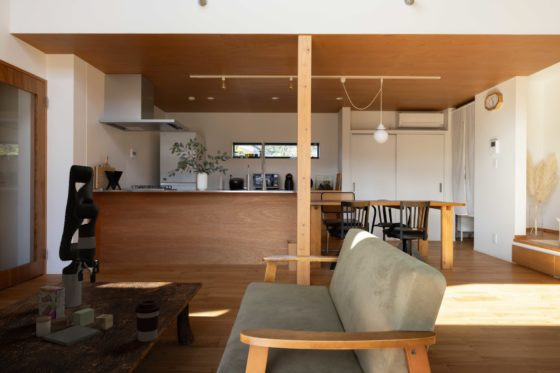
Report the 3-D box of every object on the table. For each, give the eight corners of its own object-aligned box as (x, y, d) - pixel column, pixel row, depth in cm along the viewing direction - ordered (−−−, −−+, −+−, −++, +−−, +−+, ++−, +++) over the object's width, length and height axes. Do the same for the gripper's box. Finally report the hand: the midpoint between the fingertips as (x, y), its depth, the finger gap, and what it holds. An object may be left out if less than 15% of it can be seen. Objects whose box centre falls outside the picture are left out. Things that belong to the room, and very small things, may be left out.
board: (43, 339, 150) (43, 336, 150) (77, 327, 164) (77, 324, 164) (67, 346, 144) (67, 342, 144) (100, 333, 157) (100, 330, 157)
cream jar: (32, 335, 154) (33, 318, 154) (45, 331, 159) (45, 315, 159) (40, 337, 152) (41, 320, 152) (53, 333, 157) (54, 316, 157)
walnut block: (48, 329, 162) (48, 320, 162) (64, 326, 166) (64, 317, 166) (51, 331, 159) (51, 322, 159) (66, 328, 163) (66, 319, 163)
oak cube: (95, 329, 162) (95, 317, 162) (102, 325, 167) (102, 314, 167) (105, 329, 161) (105, 318, 161) (112, 325, 166) (112, 314, 166)
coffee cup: (145, 345, 145) (145, 307, 145) (129, 340, 150) (129, 303, 150) (165, 337, 153) (165, 301, 153) (149, 332, 158) (150, 297, 159)
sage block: (73, 325, 166) (73, 312, 166) (87, 321, 173) (87, 308, 173) (80, 327, 164) (80, 313, 164) (94, 322, 171) (94, 309, 171)
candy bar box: (37, 323, 168) (38, 287, 169) (47, 320, 173) (48, 285, 173) (55, 326, 165) (56, 289, 165) (65, 323, 169) (65, 287, 170)
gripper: (69, 247, 170) (69, 282, 170) (89, 248, 164) (89, 285, 163) (84, 245, 177) (84, 279, 177) (104, 246, 171) (104, 281, 170)
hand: (86, 281), depth 170 cm, fingers open, 8 cm apart
